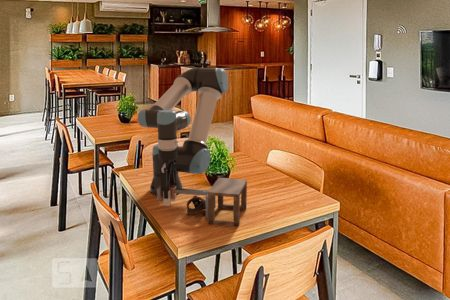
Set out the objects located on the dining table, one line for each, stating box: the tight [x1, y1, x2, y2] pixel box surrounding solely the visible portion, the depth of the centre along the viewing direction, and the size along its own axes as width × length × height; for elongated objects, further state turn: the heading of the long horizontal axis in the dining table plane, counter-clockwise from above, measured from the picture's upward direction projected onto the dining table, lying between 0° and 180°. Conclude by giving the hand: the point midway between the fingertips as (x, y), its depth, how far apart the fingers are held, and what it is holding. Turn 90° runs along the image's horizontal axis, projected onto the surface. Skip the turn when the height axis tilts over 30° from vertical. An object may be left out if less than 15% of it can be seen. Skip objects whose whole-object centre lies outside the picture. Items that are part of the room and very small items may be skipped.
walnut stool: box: [207, 177, 248, 228], centre depth 169 cm, size 12×18×13 cm, turn 168°
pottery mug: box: [186, 195, 206, 216], centre depth 174 cm, size 12×10×8 cm
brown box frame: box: [156, 185, 216, 219], centre depth 173 cm, size 22×12×10 cm, turn 78°
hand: (169, 202), depth 175 cm, fingers open, 5 cm apart
